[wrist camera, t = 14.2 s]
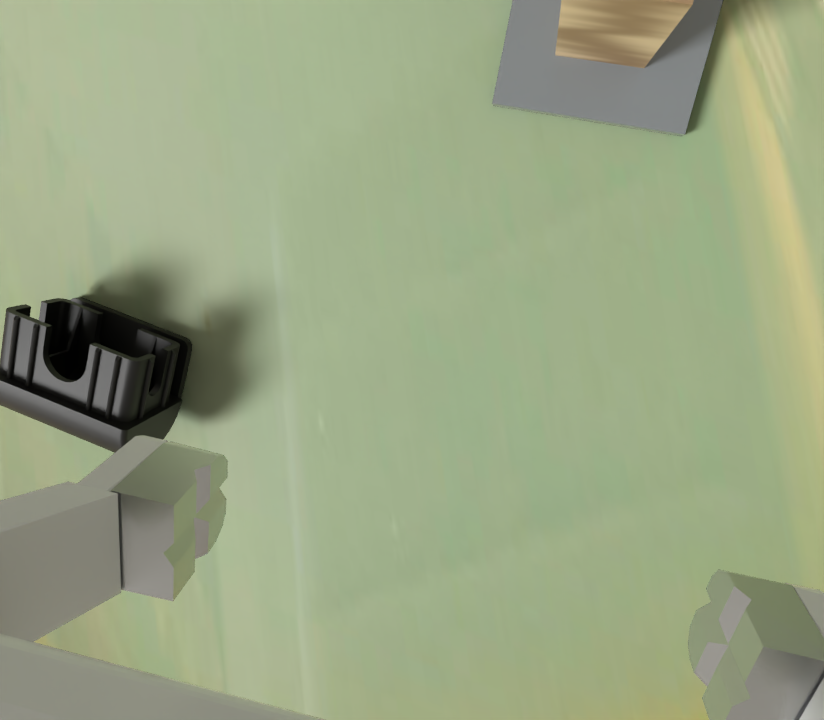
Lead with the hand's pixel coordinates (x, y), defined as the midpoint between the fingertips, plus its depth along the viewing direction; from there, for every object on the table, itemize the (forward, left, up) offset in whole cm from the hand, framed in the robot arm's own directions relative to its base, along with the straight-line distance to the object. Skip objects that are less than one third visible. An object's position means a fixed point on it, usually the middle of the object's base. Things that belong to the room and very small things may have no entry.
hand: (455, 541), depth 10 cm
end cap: (-6, -26, -27) cm, 38 cm away
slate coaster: (-12, +10, -27) cm, 31 cm away
